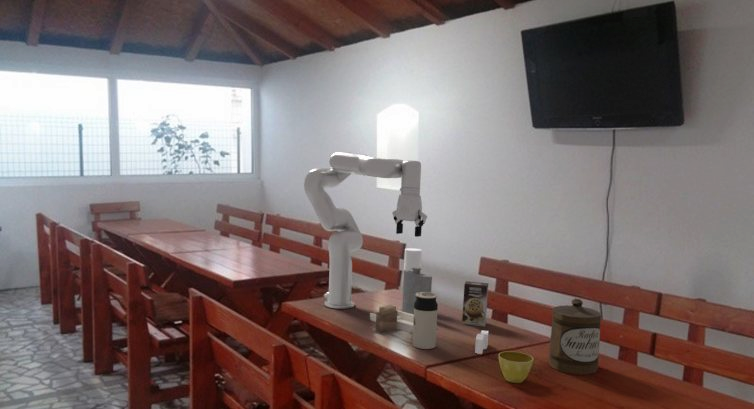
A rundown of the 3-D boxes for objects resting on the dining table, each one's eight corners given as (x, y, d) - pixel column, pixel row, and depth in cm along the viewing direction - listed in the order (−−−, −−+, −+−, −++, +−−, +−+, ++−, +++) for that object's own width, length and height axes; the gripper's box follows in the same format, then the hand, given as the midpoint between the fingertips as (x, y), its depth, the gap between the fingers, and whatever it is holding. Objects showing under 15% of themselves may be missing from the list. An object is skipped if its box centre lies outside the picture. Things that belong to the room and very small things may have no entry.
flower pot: (526, 374, 189) (528, 351, 189) (536, 386, 179) (537, 362, 178) (493, 373, 189) (495, 350, 188) (501, 386, 179) (502, 361, 178)
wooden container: (565, 376, 189) (570, 305, 187) (539, 360, 203) (544, 294, 201) (607, 373, 193) (612, 303, 191) (579, 358, 207) (583, 292, 205)
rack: (369, 320, 242) (370, 313, 242) (390, 315, 251) (390, 308, 251) (412, 333, 227) (413, 325, 227) (433, 328, 236) (433, 320, 235)
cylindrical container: (400, 308, 263) (403, 250, 261) (404, 304, 270) (407, 247, 268) (416, 310, 261) (419, 251, 259) (420, 306, 268) (423, 249, 266)
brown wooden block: (375, 331, 227) (376, 312, 226) (390, 327, 233) (391, 309, 232) (381, 333, 225) (382, 314, 224) (396, 329, 231) (397, 310, 230)
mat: (371, 332, 227) (371, 331, 227) (389, 327, 234) (389, 326, 234) (382, 335, 223) (383, 334, 223) (401, 330, 230) (401, 329, 230)
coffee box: (461, 324, 242) (463, 283, 241) (463, 320, 249) (465, 280, 247) (485, 326, 240) (487, 285, 239) (486, 322, 247) (488, 282, 245)
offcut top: (379, 313, 243) (379, 306, 243) (389, 310, 248) (389, 304, 248) (385, 315, 241) (385, 308, 241) (395, 312, 245) (396, 306, 245)
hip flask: (431, 320, 247) (433, 270, 246) (423, 321, 245) (426, 271, 243) (406, 310, 260) (408, 263, 258) (398, 312, 258) (400, 264, 256)
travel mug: (437, 344, 216) (440, 293, 214) (433, 351, 208) (435, 298, 207) (415, 341, 218) (417, 290, 216) (410, 348, 210) (412, 295, 209)
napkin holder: (480, 358, 204) (481, 341, 203) (455, 349, 213) (456, 332, 212) (510, 351, 213) (511, 334, 212) (485, 342, 222) (486, 326, 221)
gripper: (387, 190, 249) (386, 233, 250) (421, 193, 237) (419, 238, 238) (400, 190, 254) (398, 231, 255) (433, 193, 242) (431, 236, 244)
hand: (408, 234), depth 247 cm, fingers open, 9 cm apart
